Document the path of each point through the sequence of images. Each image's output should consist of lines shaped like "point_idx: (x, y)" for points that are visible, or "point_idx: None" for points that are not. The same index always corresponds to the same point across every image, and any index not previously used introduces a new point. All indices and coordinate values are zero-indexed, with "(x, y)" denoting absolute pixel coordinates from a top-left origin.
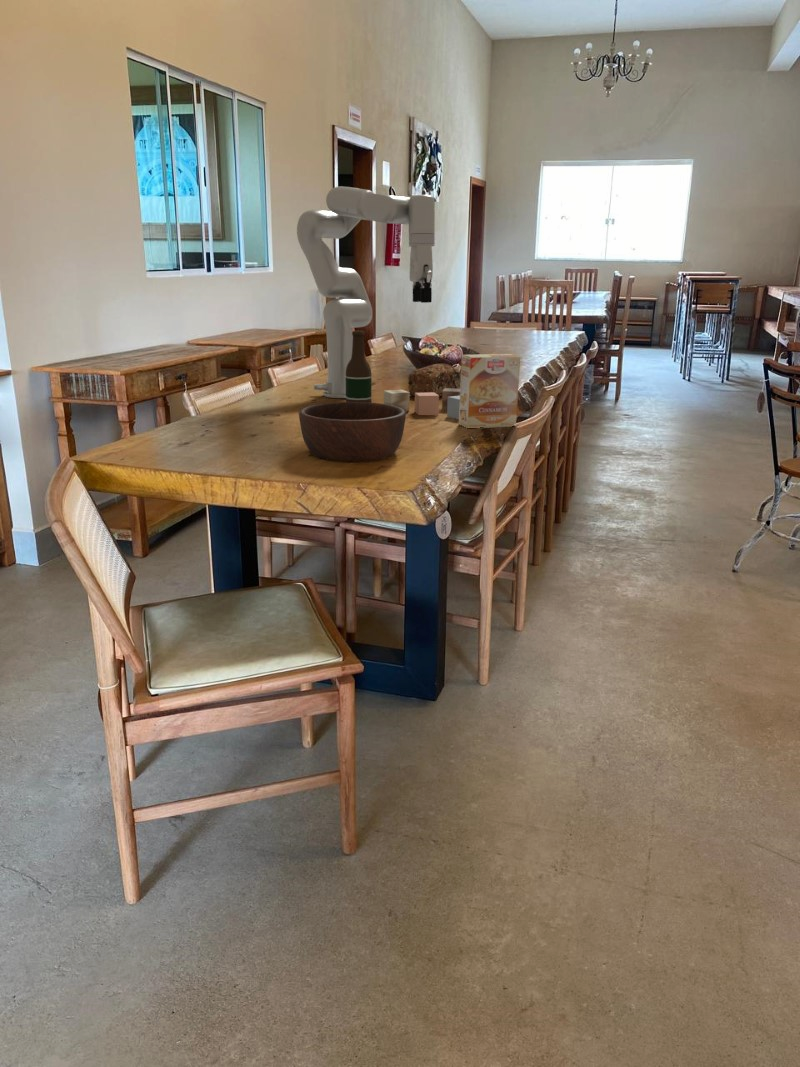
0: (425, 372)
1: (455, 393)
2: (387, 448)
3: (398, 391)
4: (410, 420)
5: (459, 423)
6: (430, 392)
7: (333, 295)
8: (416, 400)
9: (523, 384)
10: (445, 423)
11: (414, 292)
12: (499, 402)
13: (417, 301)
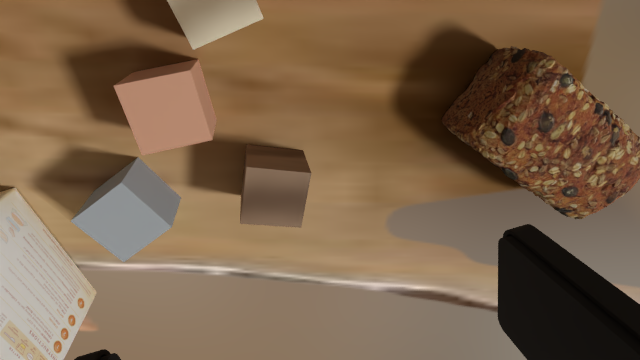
0: (508, 119)
1: (242, 202)
2: None
3: (210, 2)
4: (35, 42)
5: (4, 191)
6: (207, 127)
7: None
8: (162, 72)
9: None
10: (21, 151)
11: (590, 324)
12: None
13: (507, 271)
